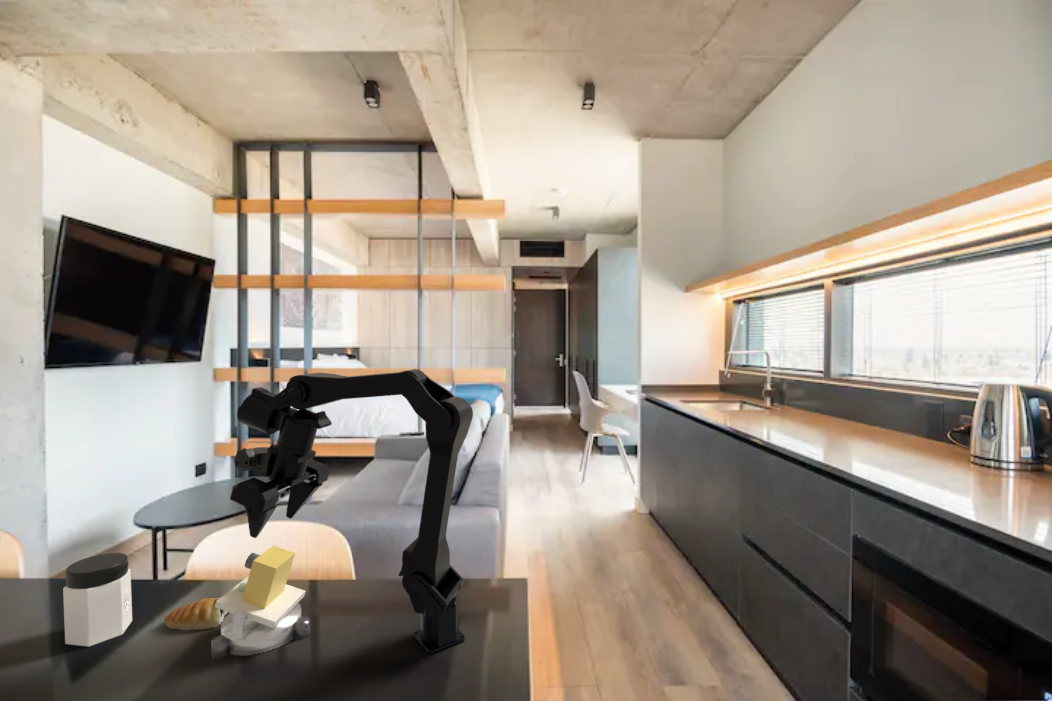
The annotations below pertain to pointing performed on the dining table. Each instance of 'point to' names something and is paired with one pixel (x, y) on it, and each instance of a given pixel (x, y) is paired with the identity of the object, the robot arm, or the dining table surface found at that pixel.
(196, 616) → the pastry
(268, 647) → the tribrach base
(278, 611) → the instrument
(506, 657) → the dining table surface
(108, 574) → the jar
